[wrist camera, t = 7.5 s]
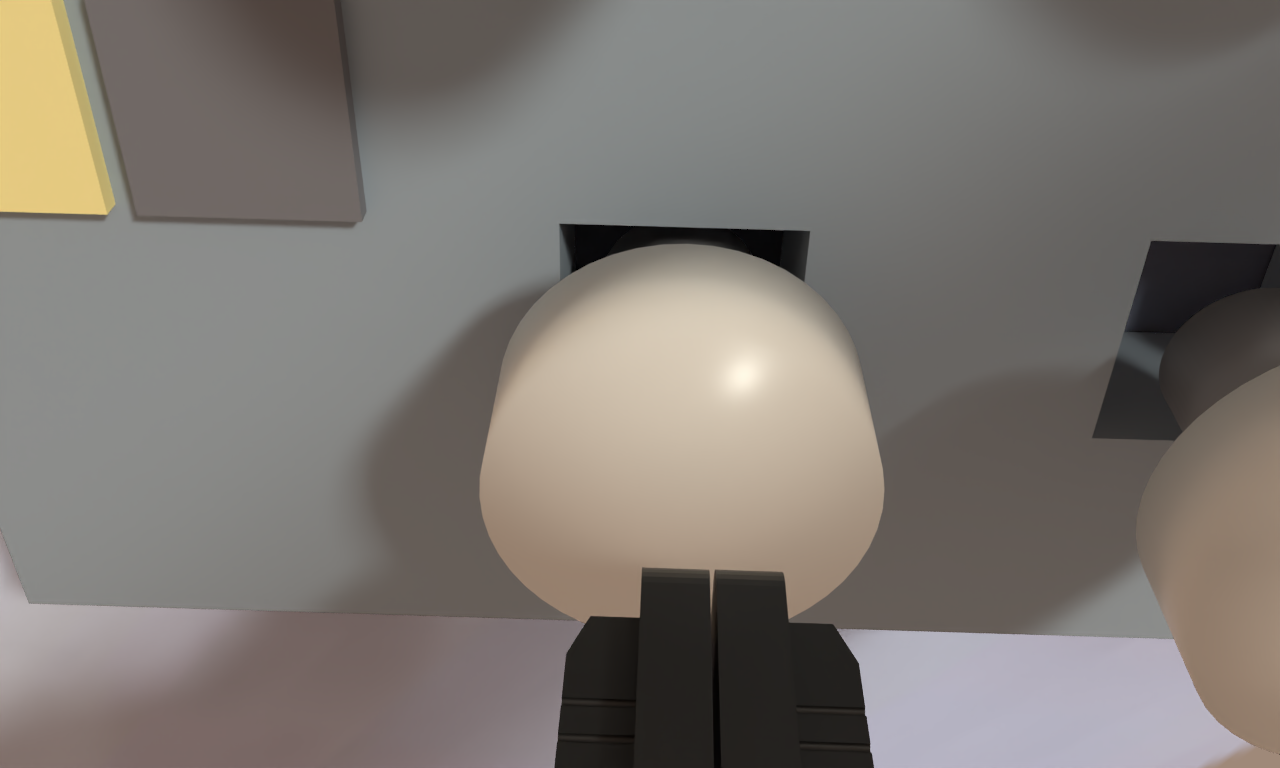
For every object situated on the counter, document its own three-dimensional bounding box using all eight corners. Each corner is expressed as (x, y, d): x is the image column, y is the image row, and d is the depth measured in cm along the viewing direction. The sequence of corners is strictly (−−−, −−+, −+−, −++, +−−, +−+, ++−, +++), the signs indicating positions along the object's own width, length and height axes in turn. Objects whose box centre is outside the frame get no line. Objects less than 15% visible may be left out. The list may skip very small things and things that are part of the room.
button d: (857, 143, 17) (912, 342, 13) (820, 415, 20) (857, 647, 16) (515, 133, 17) (467, 329, 13) (526, 406, 20) (489, 635, 16)
